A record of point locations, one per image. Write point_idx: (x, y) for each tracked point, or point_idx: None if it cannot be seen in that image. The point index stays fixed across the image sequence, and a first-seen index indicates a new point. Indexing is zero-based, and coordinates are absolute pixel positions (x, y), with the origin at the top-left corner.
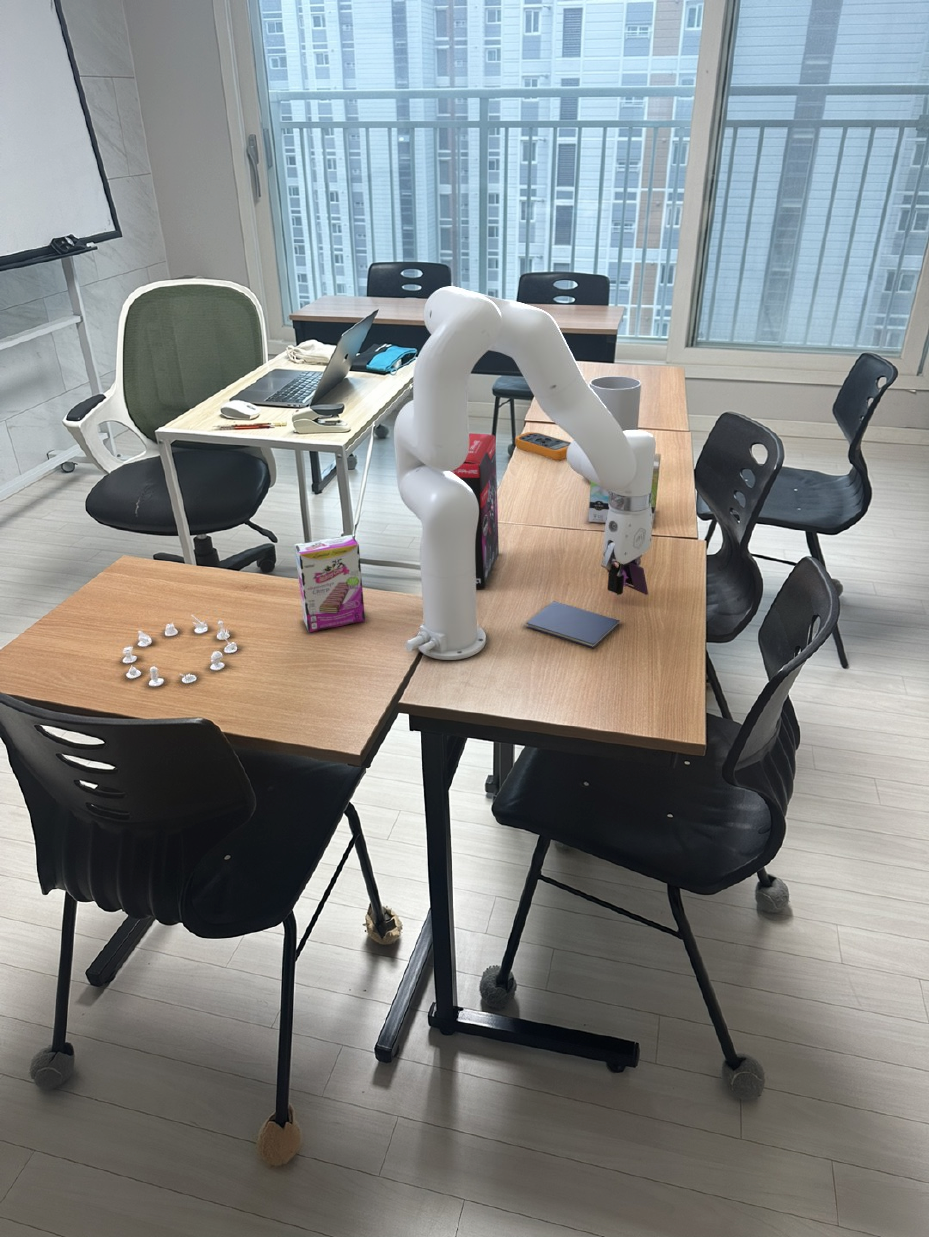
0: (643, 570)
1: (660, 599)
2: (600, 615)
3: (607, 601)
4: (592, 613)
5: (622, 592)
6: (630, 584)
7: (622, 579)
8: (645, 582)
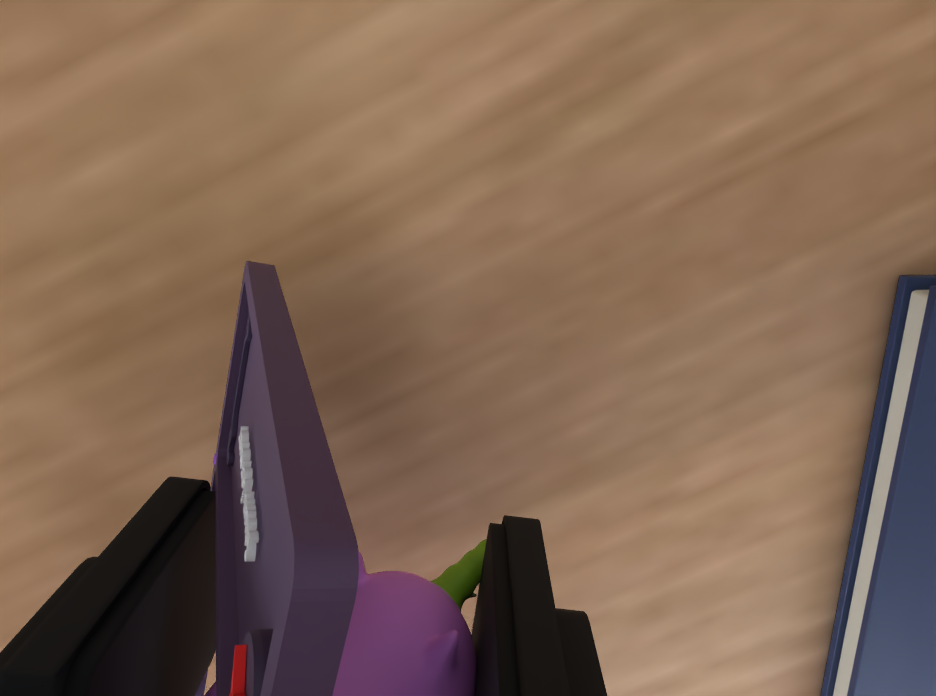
0: (308, 509)
1: (101, 149)
2: (910, 499)
3: None
4: (897, 577)
5: (518, 522)
6: None
7: (567, 681)
8: (279, 338)
